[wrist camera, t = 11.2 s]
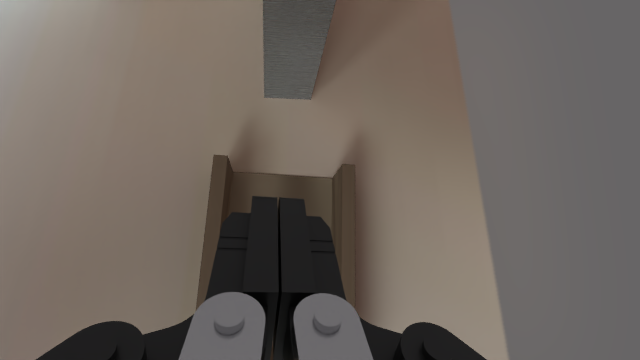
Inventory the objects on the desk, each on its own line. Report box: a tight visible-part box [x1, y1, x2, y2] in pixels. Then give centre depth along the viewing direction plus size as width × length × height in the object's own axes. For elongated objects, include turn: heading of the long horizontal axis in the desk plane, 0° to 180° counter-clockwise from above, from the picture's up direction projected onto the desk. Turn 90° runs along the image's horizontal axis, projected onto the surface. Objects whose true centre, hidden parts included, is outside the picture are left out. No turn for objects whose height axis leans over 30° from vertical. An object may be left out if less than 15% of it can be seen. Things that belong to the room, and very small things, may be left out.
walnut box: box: [196, 155, 355, 360], centre depth 21 cm, size 9×14×4 cm, turn 178°
